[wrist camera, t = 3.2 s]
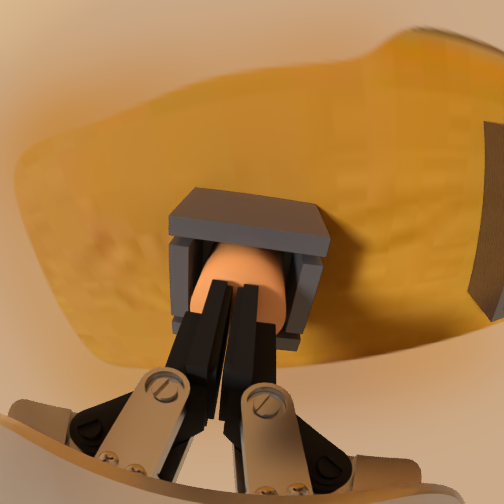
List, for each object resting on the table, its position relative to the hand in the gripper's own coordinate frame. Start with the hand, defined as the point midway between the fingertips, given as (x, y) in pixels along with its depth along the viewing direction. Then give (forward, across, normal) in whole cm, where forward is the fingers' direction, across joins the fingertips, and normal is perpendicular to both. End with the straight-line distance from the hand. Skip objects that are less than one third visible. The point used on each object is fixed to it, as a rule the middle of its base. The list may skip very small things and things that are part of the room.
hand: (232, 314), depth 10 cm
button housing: (+5, 0, 0) cm, 5 cm away
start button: (+4, 0, 0) cm, 4 cm away
